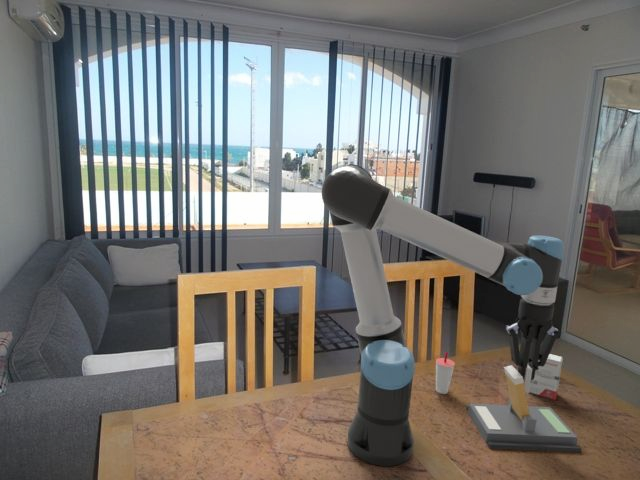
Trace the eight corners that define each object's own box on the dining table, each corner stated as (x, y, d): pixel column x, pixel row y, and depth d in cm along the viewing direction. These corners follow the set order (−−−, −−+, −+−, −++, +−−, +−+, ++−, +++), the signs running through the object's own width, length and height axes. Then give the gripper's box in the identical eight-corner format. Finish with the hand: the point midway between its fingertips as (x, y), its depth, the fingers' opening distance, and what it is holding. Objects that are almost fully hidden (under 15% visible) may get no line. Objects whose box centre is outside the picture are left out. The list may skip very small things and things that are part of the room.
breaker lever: (523, 424, 113) (514, 379, 110) (512, 410, 119) (503, 366, 116) (531, 422, 113) (522, 377, 110) (520, 408, 119) (511, 364, 116)
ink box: (557, 393, 135) (564, 356, 133) (555, 400, 131) (562, 362, 129) (525, 384, 140) (531, 348, 138) (523, 390, 136) (529, 353, 133)
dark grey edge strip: (489, 448, 108) (489, 444, 108) (487, 445, 109) (488, 441, 109) (580, 451, 108) (581, 448, 108) (578, 449, 109) (579, 445, 109)
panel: (485, 442, 110) (489, 421, 109) (467, 411, 122) (470, 392, 121) (575, 446, 110) (580, 425, 109) (548, 415, 123) (551, 396, 122)
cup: (438, 384, 136) (443, 346, 134) (454, 391, 133) (460, 353, 130) (428, 389, 133) (433, 351, 130) (445, 397, 129) (450, 358, 127)
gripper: (517, 304, 106) (504, 397, 111) (572, 307, 106) (556, 399, 111) (504, 294, 113) (492, 382, 118) (555, 296, 114) (541, 384, 118)
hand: (523, 390), depth 114 cm, fingers closed
